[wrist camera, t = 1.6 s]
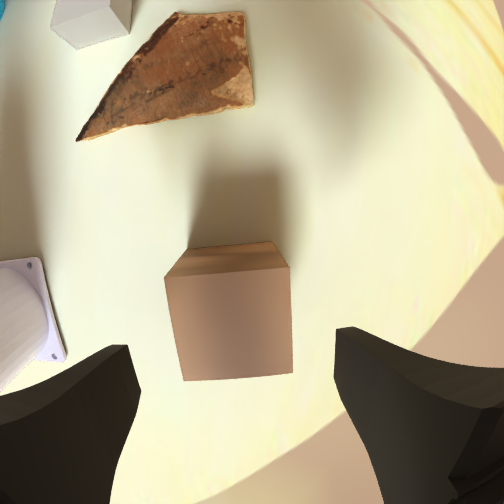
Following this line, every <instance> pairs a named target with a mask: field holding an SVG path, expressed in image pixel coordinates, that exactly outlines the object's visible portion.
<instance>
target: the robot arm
mask: <svg viewBox="0 0 504 504" xmlns="http://www.w3.org/2000/svg"><path fill="white" fill-rule="evenodd" d="M30 263H31V265H32V268H31V267H30ZM54 354H55V355H56V356H57V357H56V356H55V355H54ZM66 358H67V356H66V353H65V350H64V347H63V344H62V341H61V338H60V334H59V331H58V328H57V324H56V321H55V317H54V314H53V310H52V306H51V302H50V298H49V294H48V290H47V286H46V281H45V277H44V272H43V267H42V263H41V260H40V259H39V258H38V257H31V258H23V259H14V260H6V261H0V392H1V391H2V390H3V389H4V388H5V387H6V386H7V385H8V384H9V383H10V382H11V381H12V380H13V379H14V378H15V377H16V376H17V375H18V374H19V373H20V372H21V371H22V370H23V369H24V368H25V367H26V366H27V365H28V364H29V363H30V362H31V361H32V360H42V361H52V362H64V361H65V360H66ZM334 380H335V383H336V386H337V389H338V392H339V395H340V398H341V400H342V402H343V405H344V406H345V408H346V410H347V412H348V414H349V416H350V418H351V420H352V422H353V424H354V426H355V428H356V430H357V431H358V434H359V435H360V437H361V439H362V441H363V443H364V445H365V447H366V450H367V452H368V454H369V457H370V460H371V463H372V466H373V468H374V471H375V474H376V477H377V480H378V484H379V487H380V491H381V494H382V497H383V501H384V504H504V368H486V367H474V366H467V365H460V364H455V363H449V362H445V361H441V360H437V359H433V358H430V357H426V356H423V355H420V354H417V353H415V352H412V351H409V350H406V349H404V348H402V347H399V346H397V345H394V344H392V343H390V342H388V341H385V340H383V339H381V338H379V337H377V336H374V335H372V334H370V333H368V332H366V331H363V330H361V329H359V328H356V327H346V328H340V329H336V344H335V364H334ZM140 394H141V389H140V386H139V383H138V379H137V376H136V373H135V370H134V366H133V363H132V359H131V356H130V352H129V348H128V345H110V346H108V347H106V348H104V349H102V350H100V351H98V352H96V353H94V354H93V355H91V356H89V357H87V358H86V359H84V360H82V361H81V362H79V363H77V364H75V365H74V366H72V367H70V368H68V369H66V370H64V371H63V372H61V373H59V374H57V375H55V376H53V377H51V378H49V379H47V380H45V381H43V382H40V383H38V384H36V385H33V386H31V387H28V388H25V389H23V390H19V391H16V392H13V393H9V394H6V395H2V396H0V504H109V503H110V496H111V490H112V485H113V480H114V475H115V470H116V467H117V464H118V460H119V457H120V455H121V452H122V449H123V447H124V444H125V442H126V439H127V436H128V434H129V431H130V429H131V426H132V424H133V421H134V418H135V416H136V413H137V408H138V404H139V399H140Z"/></svg>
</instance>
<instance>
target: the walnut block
mask: <svg viewBox="0 0 504 504" xmlns="http://www.w3.org/2000/svg"><path fill="white" fill-rule="evenodd" d="M164 281H165V288H166V294H167V300H168V306H169V311H170V317H171V322H172V328H173V333H174V338H175V343H176V348H177V353H178V357H179V362H180V367H181V371H182V376H183V380H184V381H201V380H222V379H237V378H249V377H260V376H270V375H279V374H288V373H293V350H292V316H291V289H290V267H289V266H288V264H287V263H286V261H285V260H284V258H283V257H282V255H281V254H280V252H279V251H278V250H277V248H276V247H275V245H274V244H273V242H263V243H251V244H239V245H227V246H216V247H204V248H193V249H186V251H185V252H184V253H183V254H182V256H181V257H180V258H179V259H178V261H177V262H176V263H175V264H174V266H173V267H172V268H171V269H170V271H169V272H168V273H167V274H166V276H165V277H164Z"/></svg>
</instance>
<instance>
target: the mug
mask: <svg viewBox="0 0 504 504" xmlns="http://www.w3.org/2000/svg"><path fill="white" fill-rule="evenodd" d="M4 8H5V4H4V0H0V20H1V18H2V15H3V12H4Z"/></svg>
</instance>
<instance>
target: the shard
mask: <svg viewBox="0 0 504 504" xmlns="http://www.w3.org/2000/svg"><path fill="white" fill-rule="evenodd" d="M245 26H246V22H245V17H244V16H243V14H242V13H241V12H226V13H218V14H216V13H215V14H210V15H206V14H204V15H196V14H195V15H182V14H180V13H177V12H174V14H172V15H171V16H170V18H168V19H167V20H166V21H165V22H164V23H163V24H162V25H161V26H160V27H159V28H158V29H157V30H156V31H155V32H154V33H153V34H152V36H151V37H150V39H149V40H148V41H147V42H146V43H144V44H143V45H142V46H141V47H140V49H139V50H138V51H137V52H136V53H135V55H134V56H133V57H132V58H131V59H130V60H129V61H128V62H127V64H126V65H125V66H124V67H123V69H122V70H121V72H120V73H119V74H118V75H117V77H116V78H115V80H114V81H113V82H112V84H111V85H110V87H109V88H108V90H107V92H106V93H105V95H104V96H103V98H102V99H101V101H100V103H99V105H98V107H97V108H96V110H95V112H94V113H93V114H92V116H91V117H90V119H89V121H88V122H87V123H86V124H85V125H84V126H83V128H82V130H81V132H80V134H79V135H78V137H77V138H76V142H78V141H83V140H92V139H95V138H97V137H100V136H103V135H106V134H109V133H112V132H115V131H117V130H119V129H122V128H125V127H129V126H133V125H147V124H153V123H158V122H161V121H165V120H175V119H181V118H186V117H189V116H199V115H210V114H214V113H219V112H222V111H224V110H228V109H241V108H244V107H248V108H249V107H253V106H254V105H255V104H254V94H253V91H252V73H251V68H250V60H249V56H248V51H247V45H246V33H245Z"/></svg>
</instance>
